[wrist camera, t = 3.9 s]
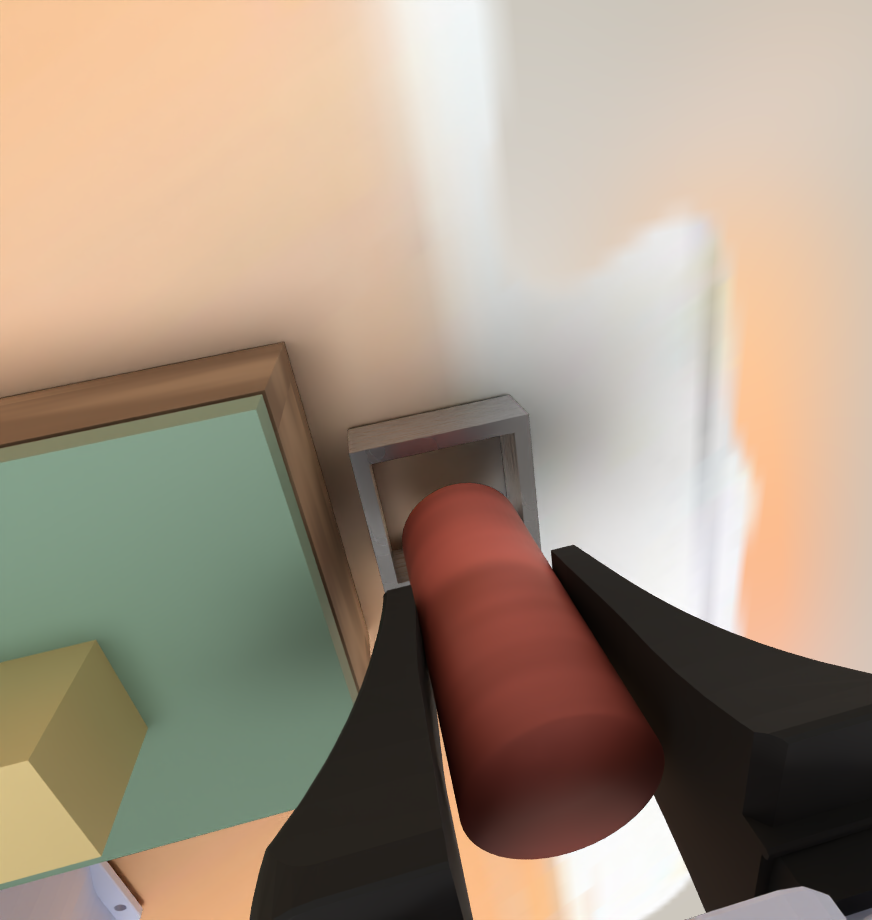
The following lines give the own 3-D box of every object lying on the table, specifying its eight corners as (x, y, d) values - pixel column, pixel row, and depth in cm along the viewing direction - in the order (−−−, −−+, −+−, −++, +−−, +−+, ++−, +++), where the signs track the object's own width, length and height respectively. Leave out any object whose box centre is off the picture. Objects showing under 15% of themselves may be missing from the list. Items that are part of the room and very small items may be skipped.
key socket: (524, 530, 21) (542, 560, 19) (381, 564, 20) (386, 599, 18) (509, 394, 18) (528, 414, 16) (347, 429, 18) (349, 453, 16)
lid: (378, 755, 17) (389, 902, 13) (-97, 883, 16) (-226, 1083, 12) (261, 394, 11) (228, 474, 8) (-467, 545, 10) (-894, 720, 7)
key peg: (523, 569, 17) (661, 824, 10) (413, 596, 17) (474, 881, 10) (512, 470, 16) (667, 689, 8) (391, 498, 15) (443, 750, 8)
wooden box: (368, 635, 21) (378, 746, 17) (5, 726, 20) (-88, 871, 16) (283, 342, 16) (264, 390, 12) (-212, 440, 15) (-444, 536, 11)
